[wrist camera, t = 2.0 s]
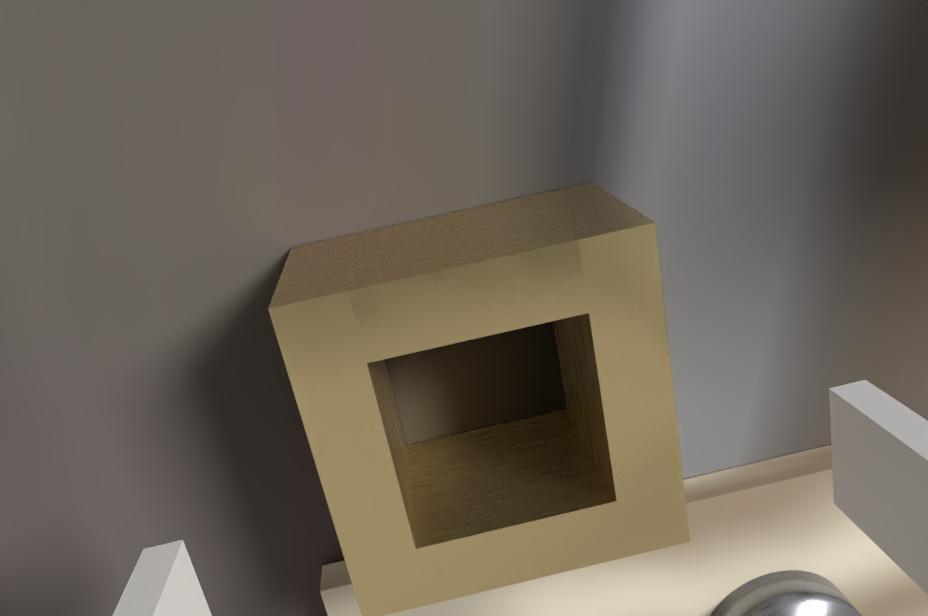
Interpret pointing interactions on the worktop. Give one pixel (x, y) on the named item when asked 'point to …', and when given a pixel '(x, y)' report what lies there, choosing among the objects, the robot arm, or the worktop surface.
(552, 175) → the worktop surface
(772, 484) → the birch board
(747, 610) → the tall steel post
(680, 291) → the worktop surface
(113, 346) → the worktop surface
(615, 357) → the brass collar
